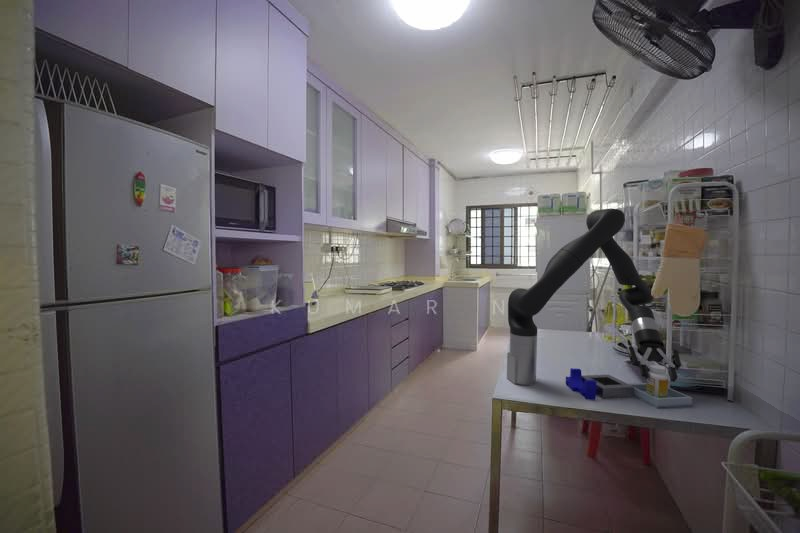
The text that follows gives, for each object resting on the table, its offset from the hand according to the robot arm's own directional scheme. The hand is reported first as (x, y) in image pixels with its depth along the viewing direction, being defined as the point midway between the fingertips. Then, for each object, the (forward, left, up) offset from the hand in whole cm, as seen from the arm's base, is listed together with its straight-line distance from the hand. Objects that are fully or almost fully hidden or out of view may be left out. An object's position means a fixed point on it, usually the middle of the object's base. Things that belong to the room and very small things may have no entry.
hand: (660, 378), depth 106 cm
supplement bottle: (+1, +2, -7) cm, 7 cm away
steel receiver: (-12, +8, -7) cm, 16 cm away
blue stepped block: (-21, +9, -7) cm, 24 cm away
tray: (+1, +1, -7) cm, 7 cm away
